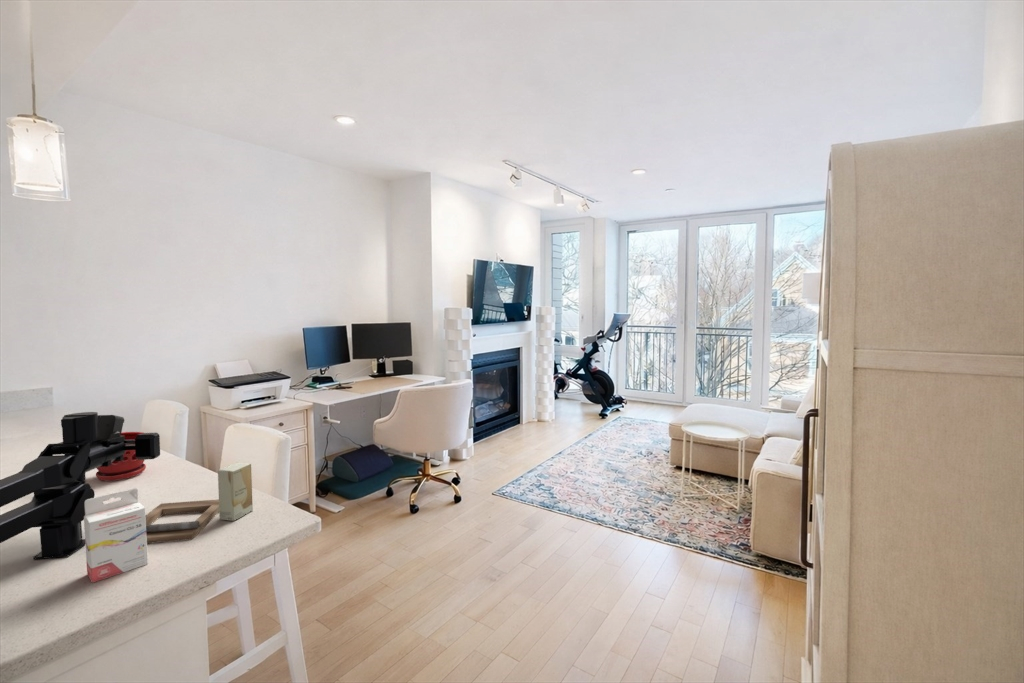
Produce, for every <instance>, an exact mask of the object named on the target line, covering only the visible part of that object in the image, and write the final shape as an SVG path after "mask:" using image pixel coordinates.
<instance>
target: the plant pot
mask: <svg viewBox="0 0 1024 683" xmlns="http://www.w3.org/2000/svg"><path fill="white" fill-rule="evenodd" d="M142 433H144V432H143V431H124V432H123V431H122V432H121V434H120V436H121V435H125V440H135V438H136V436H137V435H138V434H142ZM134 444H135V443H134ZM125 445H129V444H125ZM123 458H124V460H122V461H112V462H111V465H110V466H107V467H98V468H96V469H97V472H96V473H95V477H96V478H97V479H99V480H100V481H105V482H106V481H108V482H110V481H113V482H115V481H121V479H122V480H126V479H129V478H133V477H135V476H138V475H140V474H142V473H143V472H144V471H145V469H146V467H147V465H146V464H145V463H144V462H145V460H138V459H137V458H136V454H135V450H126V451H125V454H123Z"/></svg>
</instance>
